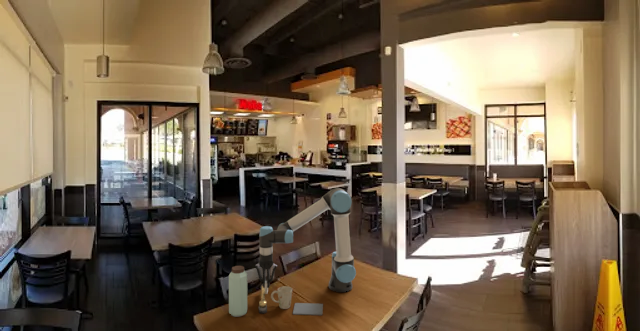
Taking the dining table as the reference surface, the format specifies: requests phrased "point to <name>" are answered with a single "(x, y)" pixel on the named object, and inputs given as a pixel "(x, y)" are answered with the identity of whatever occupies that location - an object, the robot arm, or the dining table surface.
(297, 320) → the dining table surface
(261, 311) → the lever post
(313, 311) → the mat
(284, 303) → the mug
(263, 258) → the robot arm
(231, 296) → the water bottle
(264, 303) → the lever
